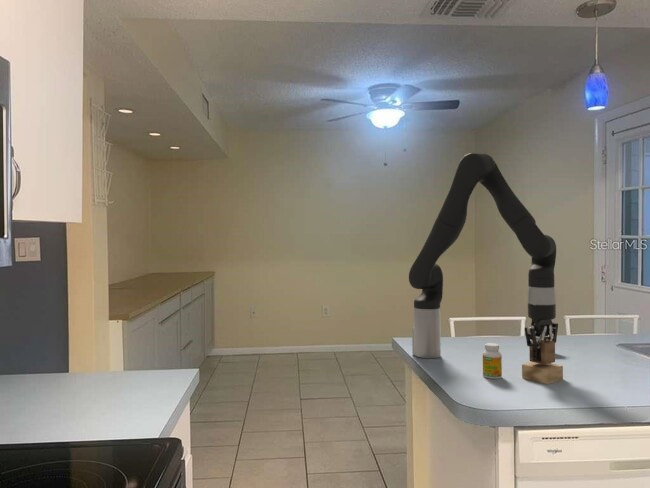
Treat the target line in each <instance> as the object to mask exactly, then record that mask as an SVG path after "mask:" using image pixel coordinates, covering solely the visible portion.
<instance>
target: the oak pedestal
mask: <svg viewBox="0 0 650 488" xmlns="http://www.w3.org/2000/svg"><path fill="white" fill-rule="evenodd" d="M563 367H564V365H560V364H556V363H550V364H546V365H545V364H540V363H535V362H531V361H529V362H527V363H522V364H521V377H522V379H526V380H529V381H532V382H533V381H534V382H537V383H541V384H544V385H550V384H553V383H556V382H560V381H562V380H564V368H563Z"/></svg>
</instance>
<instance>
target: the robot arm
mask: <svg viewBox="0 0 650 488" xmlns="http://www.w3.org/2000/svg"><path fill="white" fill-rule="evenodd" d="M478 183H480V184H481V185H482V186H483V187H485V189H486V190H487V191H488V193H489V194H490V195H491V196H492V198H493V200H494V202H495V205H496V208H497V211H498V214H500V216H501V218H502V219H503V220H504V221H505V223H506V225H507V226H508V227H509V228H510V229H511V230H512V232H513V233H514V235H515V236H516V238H517V240H518V242H519V243H520V245H521V247H522V248H523V250H524V251H525V252H526V254H528V255H529V256H530V257H531V266H530V268H529V269H528V273H527V274H528V277H527V279H528V290H527V317H528V318H530V320H531V322H530V325H529V326H525V327H524V333H525V340H526V346H527V347H529V346H530V347H532V357H533V360H534V361H538V362H539V361H541V349H540V348H541V343H542V341H544V340H548V341H554V342H555V344H556V343H557V340H558V339H557V337H558V329H559V323H557V322H553V321H552V320H555V319H556V315H557V314H556V313H557V311H556V310H557V309H556V307H557V306H556V305H557V304H556V291H555V265H556V259H557V244H556V242H555V240H554V238H553V237H552V236H550V235H547V234H544V233H543V232H542V230H541V229H540V228H539V227H538V225H537V223H536V219H535V217H534V216H533V215H532V213H530V211H529V209H527V207H525V205H524V204H523V203H522V202H521V200H520V199H519V197H517V195H516V194H515V192H514V191H513V190H512V188H511V187H510V185H509V184H508V181H507V180H506V179H505V177H504V176H503V174H502V172H501V170H500V169H499V167H498V164H497V163H496V161H495V160H494V158H493V157H492V156H491V155H490V154H487V153H484V152H483V153H482V152H469V153H467V154H465V155H464V156H463V157H462V158H461V160H460V161H459V163H458V165H457V168H456V171H455V173H454V177H453V180H452V182H451V186H450V187H449V191H448V193H447V195H446V197H445V199H444V202H443V204H442V206H441V208H440V209H439V212H438V214H437V216H436V219H434V223H433V225H432V227H431V230H430V232H429V235H428V236H427V238H426V240H425V242H424V245H423V246H422V248H421V250H420V252H419V254H418V256H416V259H415V261H414V262H413V264H412V266H411V268H410V269H409V272H408V282H409V285H410V286H411V287H412V288H414V289H416V290H421V293H420V295H419V296H418V297H416V298H415V299H414V301H413V317H414V318H413V327H412V329H411V333H412V334H411V335H412V336H411V339H412V340H411V341H412V343H411V345H412V346H411V347H412V349H411V350H412V355H414V356H415V357H416V358H417V357H418V358H422V359H437V358H440V357H441V355H442V354H441V353H442V352H441V351H442V350H441V349H442V348H441V345H442V343H441V338H442V337H441V335H442V334H441V302H442V300H443V294H444V293H443V290H444V273H443V270H442V267H440V265H439V264H438V263H437V262H438V259H439V258H440V257H441V256H442V255H443V254H444V253H445V252H446V251H447V250H449V249H450V247H451V246H453V245H454V243H456V241H457V240H458V238H459V237H460V235H461V232H462V231H463V228H464V227H465V224H466V222H467V216H468V205H469V200H470V198H471V195H472V193H473V191H474V189H475V188H476V186H477V184H478ZM536 336H537V337H536ZM538 337H539V338H538ZM536 340H538V343H537V341H536Z"/></svg>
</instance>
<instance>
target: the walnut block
mask: <svg viewBox="0 0 650 488" xmlns="http://www.w3.org/2000/svg"><path fill="white" fill-rule="evenodd" d="M536 341H537V343H538V340H536ZM528 347H529V362H535V363H540V364H545V365H546V364H550V363H552V364H555V363H556V343H555V342H554V341H548V340H544V341H542V343H541V348H540V349H541V361H539V362H538V361H534V360H533V357H532V347H530V346H528Z"/></svg>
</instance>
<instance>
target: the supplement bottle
mask: <svg viewBox="0 0 650 488" xmlns="http://www.w3.org/2000/svg"><path fill="white" fill-rule="evenodd" d="M484 349H485V350H484V351H483V352H482V377H484V378H486V379H490V380H495V379H496V380H500V379H501V378H503V377H502V376H503V375H502V373H503V369H502V368H503V367H502V364H503V362H502V361H503V360H502V358H503V355H502V353H501V352H500V351H499V349H500V345H499V344H498V343H495V342H493V343H492V342H491V343H489V342H487V343H485V344H484Z"/></svg>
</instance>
